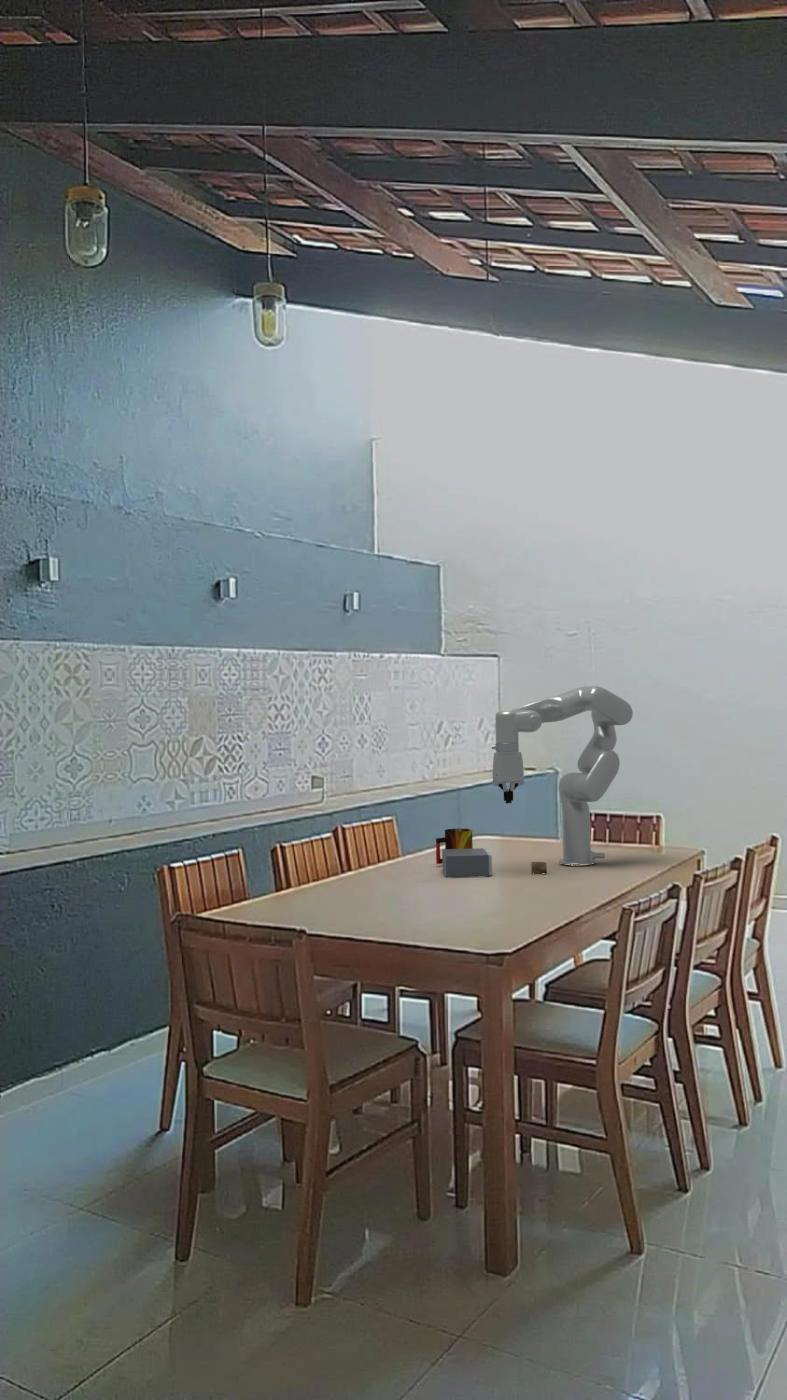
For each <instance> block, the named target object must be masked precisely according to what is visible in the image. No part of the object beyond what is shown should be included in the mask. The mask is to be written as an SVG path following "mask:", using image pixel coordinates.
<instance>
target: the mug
mask: <svg viewBox="0 0 787 1400" xmlns="http://www.w3.org/2000/svg"><path fill="white" fill-rule="evenodd" d="M443 843H444V848H445V849H474V847H473V829H470V828H447V829H445V830H444V837H436V839H435V848H436V849H435V850H436V851H435V859H436V861H435V863H436V864H437V865H442V864H443V862H442V858H441V844H443Z"/></svg>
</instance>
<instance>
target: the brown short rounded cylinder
mask: <svg viewBox="0 0 787 1400" xmlns="http://www.w3.org/2000/svg"><path fill="white" fill-rule="evenodd" d="M530 866H531V867H530V868H531V874H532V873H534V874H533V875H535V874H542V873H547V872H548V870H547V869H548V867H547V866H548V863H547V862H546V861H533V862H531V865H530ZM547 874H548V873H547Z"/></svg>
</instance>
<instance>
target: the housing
mask: <svg viewBox="0 0 787 1400" xmlns="http://www.w3.org/2000/svg"><path fill="white" fill-rule="evenodd" d="M441 851H442V852H441V854H442V858H441V859H442V862H443V863H442V871H444V872H443V873H445V874H444V876H445V875H446V876H445V878H446V877H454V878H467V877H466V876H478V877H479V876H485V877H488V876H489V877H490V875H489V855H488V854H487V853H486V851H485V850H484V848H483V847H482V848H480V847H478V848H473V849H441ZM478 877H477V878H478ZM479 878H480V877H479Z"/></svg>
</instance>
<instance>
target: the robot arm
mask: <svg viewBox="0 0 787 1400" xmlns="http://www.w3.org/2000/svg"><path fill="white" fill-rule="evenodd" d="M589 711H590V713H591V719H592V723H593V734H592V737H591V739H590V740H589V742H588V743H587V745H586V746H585V748H584V749H583V751H581V754H580V756H579V758H578V760H577V769H578V770H579V772H569V773H566V774H565V775H563V776H562V777H560V780H559V783H558V792H559V797H560V803H561V816H562V818H561V819H562V820H561V821H562V822H561V823H562V824H561V825H562V827H561V828H562V857H563V858H562V859H559V860H558V864H559V863H561V864H570V865H571V864H573V865H580V864H592V863H595V862H596V859H606V858H605V857H606V856H605V855H606V854H605V852H594V851H593V850H592V848H591V847H592V846H591V842H592V841H591V812H590V811H591V810H590V807H589V804H588V803H593V802H594V803H595V802H597V801H599V800H601V799H602V797H603V796H604V795H605V793H606V792H607V790H608V788H610V786H611V784H612V783H613V781H614V779H615V778H616V775H618V773H619V769H620V763H621V762H620V761H621V760H620V758H619V755H618V754H617V752H615V751H614V748H615V747H616V744H617V732H616V728H615V726H624V725H627V724H629V723H631V720H632V718H633V714H634V712H633V708H632V706H631V704H630V703H629V702H627V700H624V699H623V698H622V697H620V696H618V695H617V694H615V693H613V692H611V691H610V690H607V689H606V688H604V687H602V686H598V685H597V686H581V687H576V688H575V689H571V690H569V691H566V692H563V693H561V694H558V695H555V696H553V697H550V698H549V697H548V698H545V699H542V700H539V701H536V702H532V703H531V702H530V703H528V704H524V705H522V706H520V707H517V708H514V709H512V710H510V711H507V710H506V711H505V710H504V711H499V712H496V713H495V717H494V718H495V744H491V750H495V752H494V753H493V757H492V758H493V759H492V760H493V761H492V781H491V785H492V786H494V787H498V788H499V789H501V790H502V791H503V801H504V802H505V804H512V801H514V791H515V790H516V789H517V788H518V787H520V786H524V785H525V781H524V779H525V773H524V761H523V754H522V751H519V750H520V749H519V748H520V747H519V746H520V745H519V733H534V732H536V731H538V730H539V729H540V728H541V727H542V724H544V723H555V722H560V721H564V720H566V719H569V718H571V717H574V716H576V715H580V714H582V713H584V712H589ZM507 783H509V789H508V788H507V787H508V785H507Z"/></svg>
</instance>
